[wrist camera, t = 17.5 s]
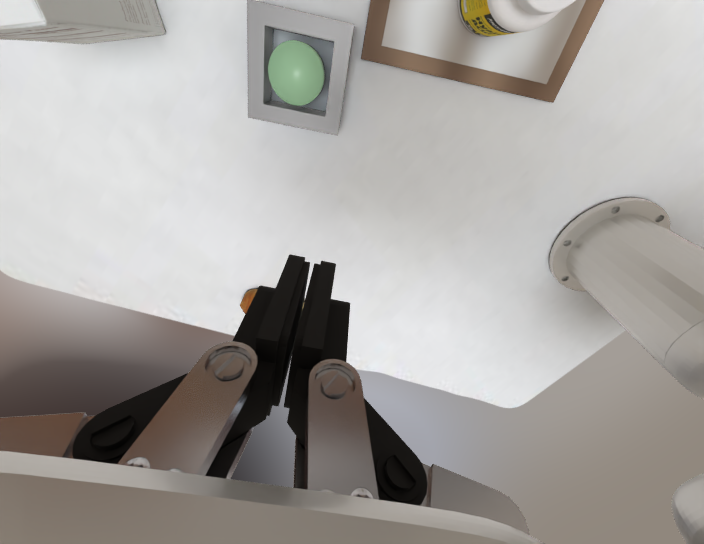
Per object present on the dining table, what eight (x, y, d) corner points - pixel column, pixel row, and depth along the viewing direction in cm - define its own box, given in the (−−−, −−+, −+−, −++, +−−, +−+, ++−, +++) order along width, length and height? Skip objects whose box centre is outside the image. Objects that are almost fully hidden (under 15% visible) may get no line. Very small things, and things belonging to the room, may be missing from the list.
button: (328, 48, 25) (326, 47, 23) (321, 107, 28) (319, 110, 26) (274, 35, 25) (268, 34, 23) (272, 97, 27) (267, 99, 25)
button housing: (354, 27, 26) (353, 24, 23) (339, 129, 30) (337, 135, 28) (257, 4, 25) (247, -2, 22) (256, 112, 29) (248, 117, 27)
